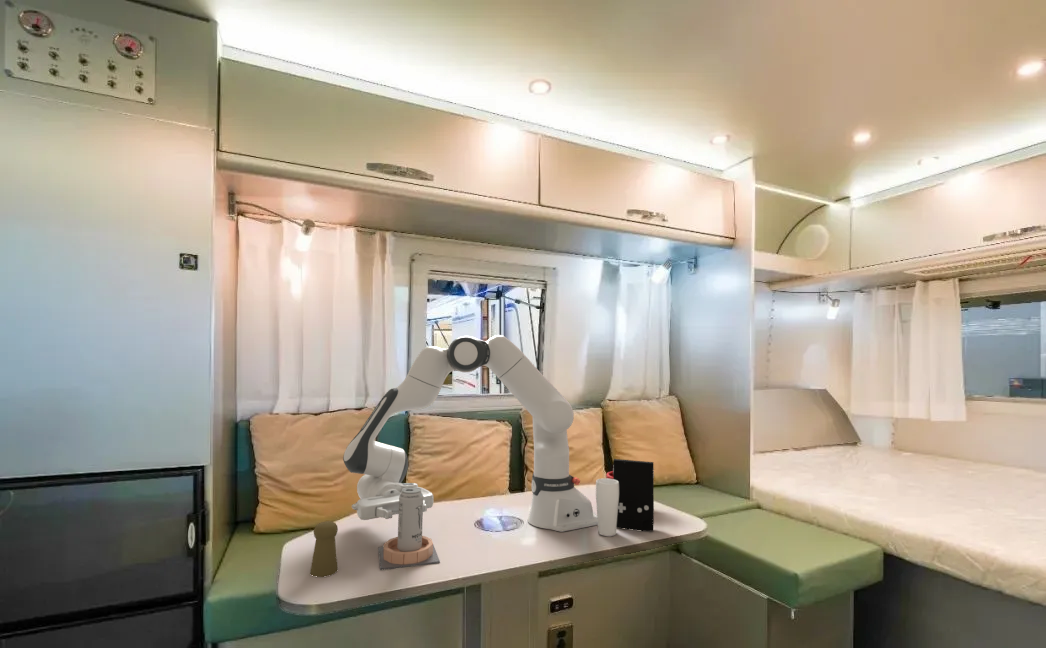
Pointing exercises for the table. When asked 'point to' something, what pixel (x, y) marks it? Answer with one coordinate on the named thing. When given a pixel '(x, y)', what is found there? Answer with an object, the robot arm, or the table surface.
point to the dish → (406, 555)
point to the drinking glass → (607, 505)
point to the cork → (324, 550)
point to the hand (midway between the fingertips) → (407, 512)
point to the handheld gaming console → (635, 494)
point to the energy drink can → (410, 520)
